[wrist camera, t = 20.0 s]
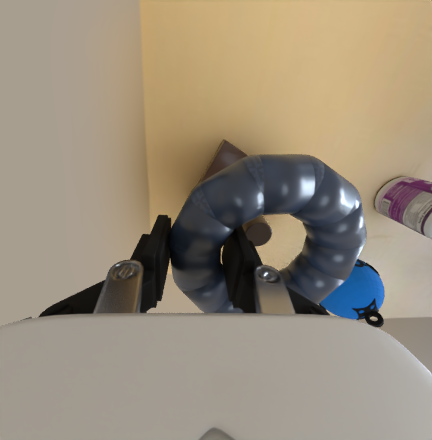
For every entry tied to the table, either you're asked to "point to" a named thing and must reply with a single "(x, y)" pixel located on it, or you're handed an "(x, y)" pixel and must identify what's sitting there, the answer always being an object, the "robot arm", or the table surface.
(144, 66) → the table surface
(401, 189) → the pill bottle
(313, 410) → the robot arm
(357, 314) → the ornament
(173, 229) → the ring
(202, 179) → the stand
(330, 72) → the table surface
